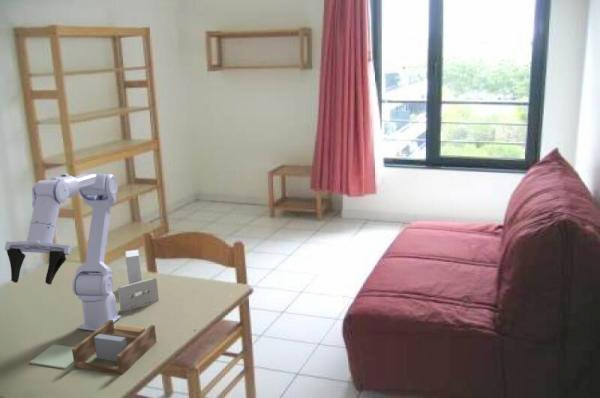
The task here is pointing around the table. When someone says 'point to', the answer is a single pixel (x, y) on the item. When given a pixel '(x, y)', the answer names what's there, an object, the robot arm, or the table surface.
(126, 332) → the offcut
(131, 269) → the skincare box
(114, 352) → the grey rectangular box
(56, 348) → the mat
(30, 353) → the table surface
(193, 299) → the table surface
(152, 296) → the cassette
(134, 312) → the table surface
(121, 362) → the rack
